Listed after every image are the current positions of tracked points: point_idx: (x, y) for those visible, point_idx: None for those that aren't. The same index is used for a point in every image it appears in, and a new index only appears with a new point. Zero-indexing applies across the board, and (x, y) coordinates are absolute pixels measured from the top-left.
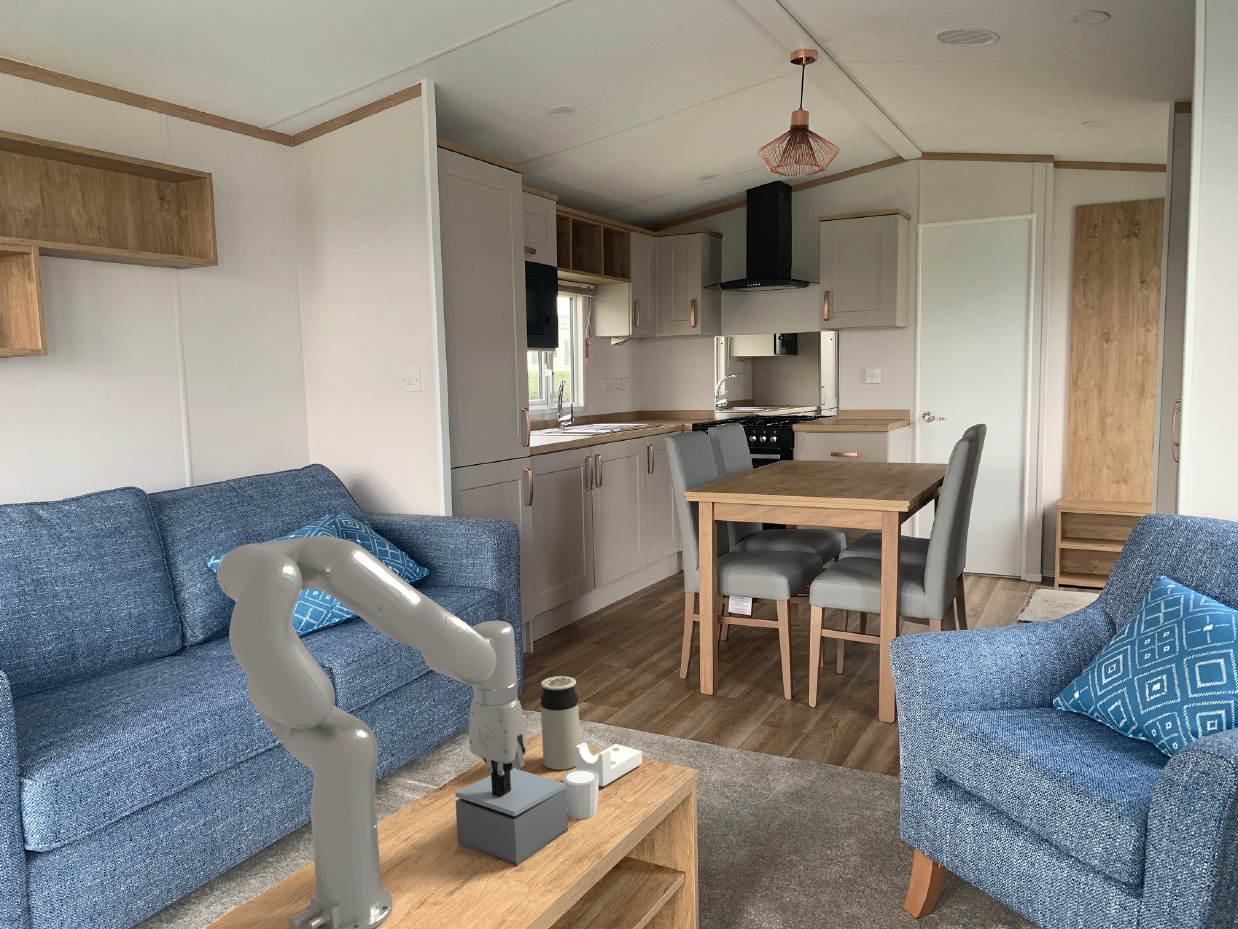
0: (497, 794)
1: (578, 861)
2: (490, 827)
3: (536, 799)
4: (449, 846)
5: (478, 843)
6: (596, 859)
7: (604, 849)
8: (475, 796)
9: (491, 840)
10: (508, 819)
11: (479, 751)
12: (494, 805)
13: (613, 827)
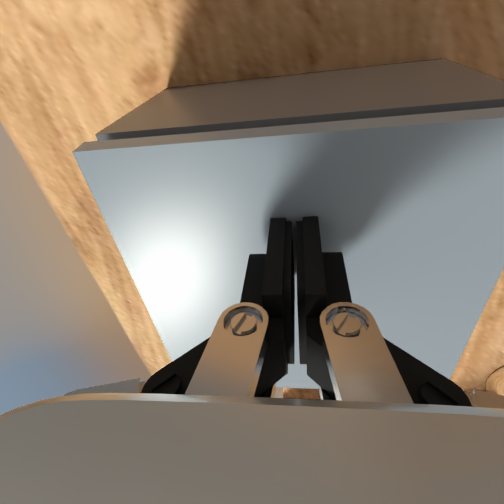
0: (277, 222)
1: (83, 205)
2: (264, 101)
3: (136, 284)
4: (468, 23)
5: (336, 76)
6: (67, 231)
7: (94, 266)
8: (395, 150)
9: (265, 88)
10: (134, 130)
11: (486, 496)
12: (213, 140)
13: (154, 326)
